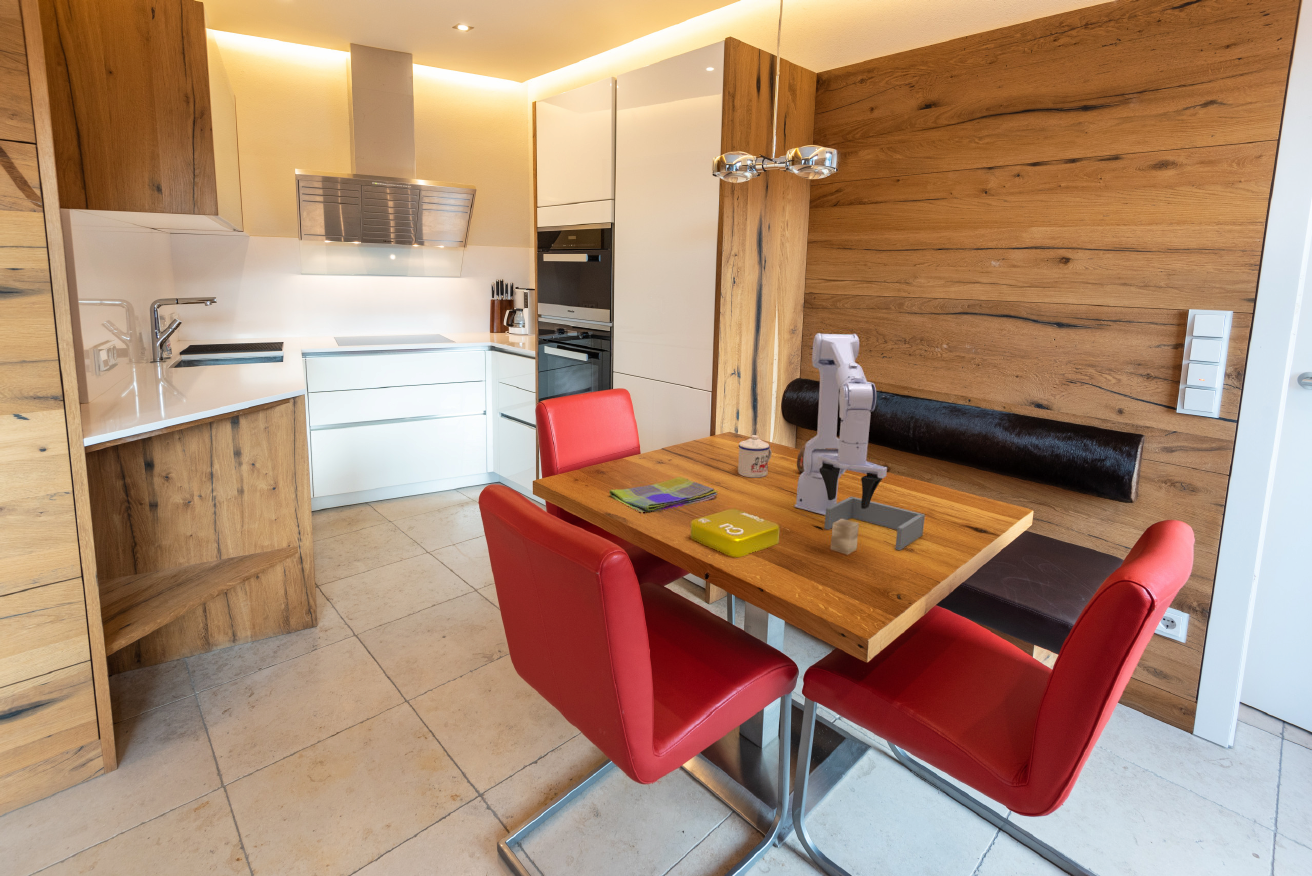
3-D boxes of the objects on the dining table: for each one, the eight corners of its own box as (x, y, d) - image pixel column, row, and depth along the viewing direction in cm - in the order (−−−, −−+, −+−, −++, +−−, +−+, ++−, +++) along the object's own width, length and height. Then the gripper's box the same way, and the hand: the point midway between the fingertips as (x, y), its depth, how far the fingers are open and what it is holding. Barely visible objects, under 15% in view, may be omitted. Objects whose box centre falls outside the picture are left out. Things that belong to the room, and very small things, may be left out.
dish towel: (606, 497, 177) (606, 487, 176) (681, 483, 190) (681, 473, 190) (642, 516, 163) (643, 506, 162) (720, 499, 176) (720, 489, 176)
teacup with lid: (753, 480, 192) (755, 440, 190) (730, 472, 199) (732, 434, 196) (781, 473, 200) (783, 435, 197) (758, 466, 206) (760, 429, 204)
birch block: (830, 549, 144) (832, 523, 142) (839, 544, 147) (841, 518, 145) (847, 554, 141) (850, 528, 140) (856, 549, 144) (858, 523, 143)
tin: (817, 464, 210) (819, 438, 208) (827, 466, 208) (829, 439, 206) (794, 474, 199) (796, 446, 197) (804, 476, 197) (806, 448, 195)
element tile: (782, 543, 147) (783, 523, 146) (735, 561, 138) (736, 539, 137) (733, 524, 159) (734, 505, 157) (686, 538, 149) (687, 518, 148)
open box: (824, 528, 155) (825, 508, 154) (849, 515, 164) (851, 496, 163) (899, 550, 144) (902, 528, 142) (922, 535, 153) (924, 514, 151)
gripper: (812, 438, 140) (808, 499, 143) (878, 450, 131) (872, 516, 134) (829, 432, 145) (824, 492, 148) (893, 444, 136) (887, 508, 139)
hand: (848, 503), depth 141 cm, fingers open, 7 cm apart
